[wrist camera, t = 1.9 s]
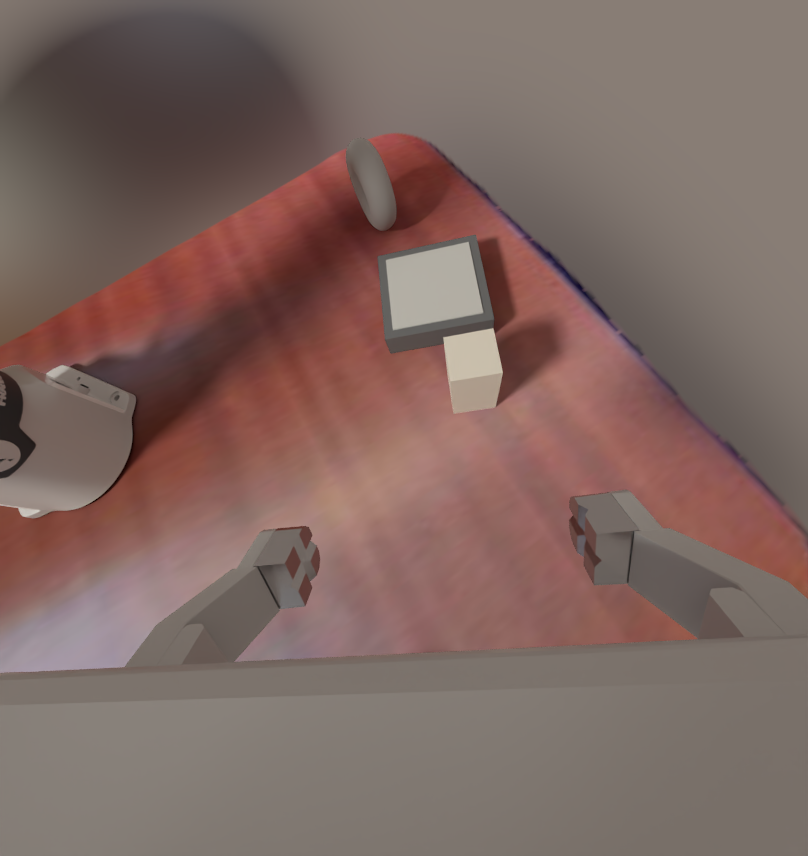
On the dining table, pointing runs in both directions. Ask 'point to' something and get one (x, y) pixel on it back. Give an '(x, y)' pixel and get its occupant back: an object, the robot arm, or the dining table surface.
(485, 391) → the cream block
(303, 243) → the dining table surface
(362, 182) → the donut
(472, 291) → the charcoal base
